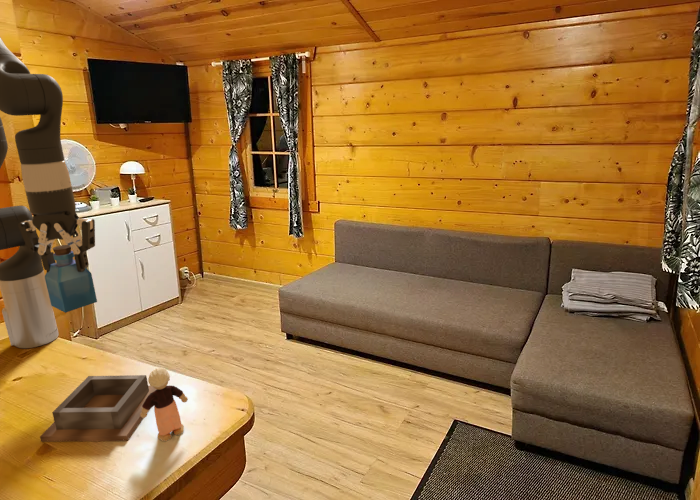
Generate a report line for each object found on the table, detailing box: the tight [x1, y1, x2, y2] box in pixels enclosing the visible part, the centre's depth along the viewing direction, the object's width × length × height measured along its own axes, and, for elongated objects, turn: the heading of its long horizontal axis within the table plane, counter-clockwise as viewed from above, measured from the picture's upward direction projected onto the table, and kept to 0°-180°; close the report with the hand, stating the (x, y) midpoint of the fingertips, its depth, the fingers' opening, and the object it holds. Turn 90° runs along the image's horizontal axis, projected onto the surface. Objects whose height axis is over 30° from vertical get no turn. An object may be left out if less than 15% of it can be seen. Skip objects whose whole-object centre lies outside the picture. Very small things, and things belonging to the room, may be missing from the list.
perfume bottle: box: [45, 244, 98, 314], centre depth 95 cm, size 6×6×12 cm
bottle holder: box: [39, 374, 157, 443], centre depth 88 cm, size 15×15×4 cm
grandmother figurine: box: [140, 367, 189, 442], centre depth 81 cm, size 8×4×13 cm, turn 141°
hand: (67, 270), depth 95 cm, fingers closed on perfume bottle, 5 cm apart
